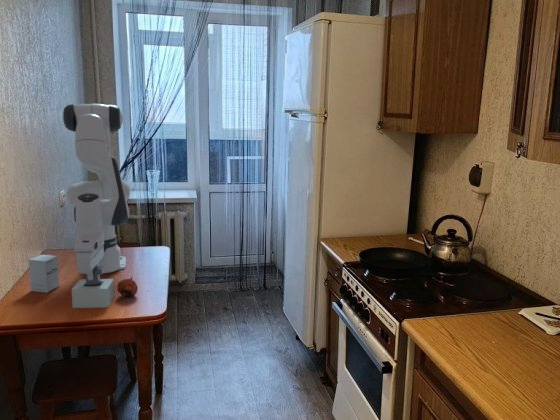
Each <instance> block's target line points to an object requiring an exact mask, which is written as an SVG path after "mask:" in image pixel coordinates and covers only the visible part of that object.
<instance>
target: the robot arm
mask: <svg viewBox="0 0 560 420" xmlns="http://www.w3.org/2000/svg"><path fill="white" fill-rule="evenodd" d="M62 123H63V124H64V127H65V129H67V130H68V131H71V132H73V133H74V134H75V135H74V147H75V149H74V150H75V151H74V152H75V156H76V158H77V160H78V161H79V162H80V163H81V164H82V165H83V166H84V168H85V169H86V170H87V171H89V172H91V173H94V174H96V175H97V177H98V180H90V181H89V180H88V181H87V180H86V181H80V182H77V183H73V184H71V185H69V187H68V188H67V190H66V199H67V202H68V203H69V204H70V205H71V207H72V208H73V217H74V218H73V219H74V222H75V223H76V225H77V230H76V241H75V243H74V246H73V249H74V252H76V254H75V256H76V257H75V258H76V266H77V271H78V273H79V274H87V276H88V280H93V279H94V274H93V269H94V267H103V266H104V272H103V274H108V273H113V272H116V271H120V270H124V269H126V267H127V264H126V263H127V259H126V256H123V255H121V253H122V251H121V248H120V246H119V245H118V238H117V234H116V227H117V226H118V227H121V226H122V225H124V224H126V223H127V222H128V221H129V218H130V207H129V206H128V202H127V201H128V200H129V198H130V195H131V189H130V188H131V187H130V186H129V184H128V183H127V182H126V181H125V180H123V179H122V176H121V172H120V169H119V165H118V162H117V159H116V157H115V156H113V155H112V142H111V137H110V133H111V135H113V134H114V132H117V131H119V130H120V129H121V128H122V124H123V123H124V117H123V112H122V111H121V108H120V107H119V106H117V105H115V104H103V103H82V104H81V103H80V104H76V103H71V104H68V105H66V106H65V107H64V108H63V112H62Z"/></svg>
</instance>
